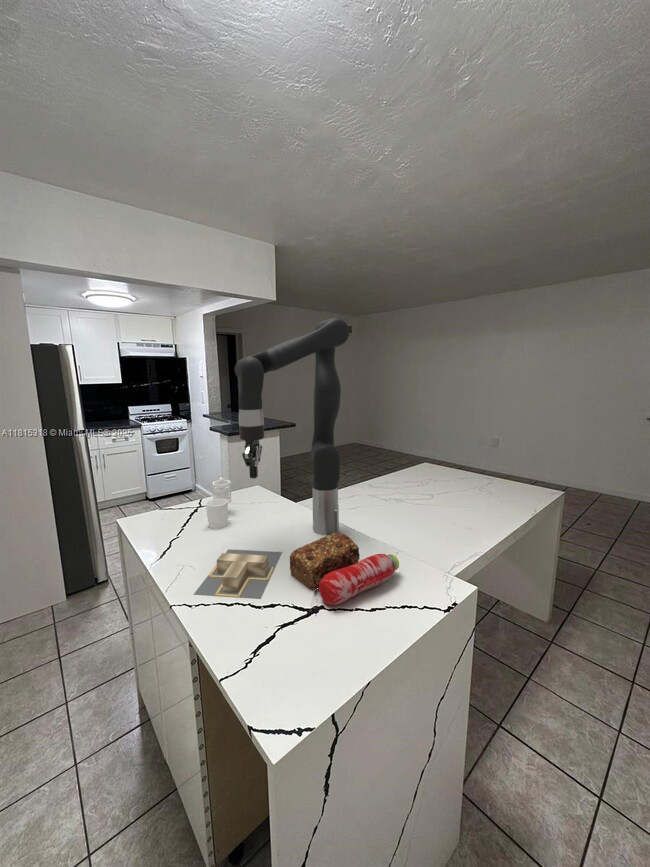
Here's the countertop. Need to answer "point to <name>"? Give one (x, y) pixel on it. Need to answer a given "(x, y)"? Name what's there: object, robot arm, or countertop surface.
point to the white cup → (217, 513)
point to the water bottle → (356, 577)
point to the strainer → (222, 490)
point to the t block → (240, 568)
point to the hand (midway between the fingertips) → (253, 477)
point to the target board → (251, 584)
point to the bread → (322, 558)
